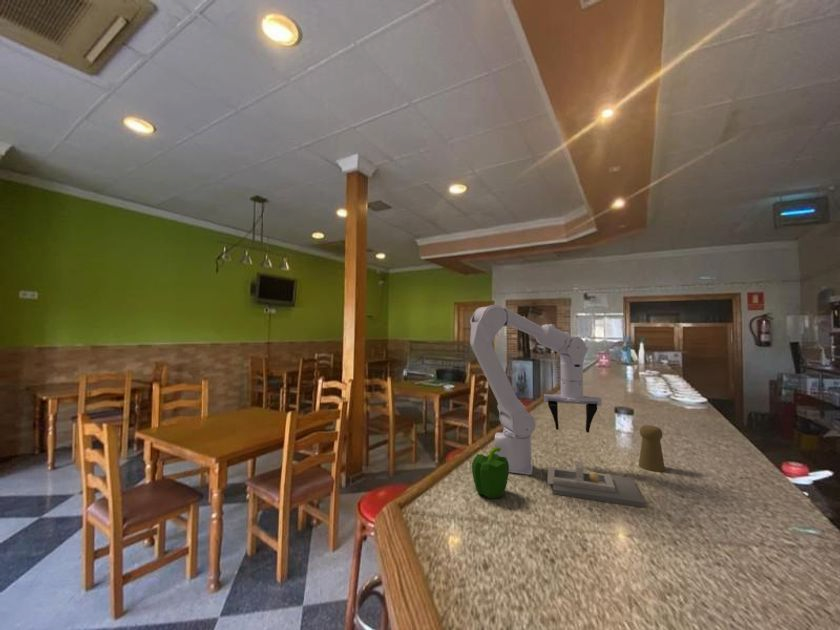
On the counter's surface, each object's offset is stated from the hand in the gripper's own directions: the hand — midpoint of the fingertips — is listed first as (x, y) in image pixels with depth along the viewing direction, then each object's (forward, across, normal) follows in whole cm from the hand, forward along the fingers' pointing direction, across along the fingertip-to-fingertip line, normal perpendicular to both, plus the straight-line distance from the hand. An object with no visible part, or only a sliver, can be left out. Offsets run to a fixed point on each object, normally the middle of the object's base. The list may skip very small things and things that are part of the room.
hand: (572, 430), depth 101 cm
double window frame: (+8, +1, -14) cm, 17 cm away
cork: (+10, +20, +6) cm, 23 cm away
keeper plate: (+9, +4, -14) cm, 17 cm away
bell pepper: (+10, -18, -26) cm, 33 cm away
